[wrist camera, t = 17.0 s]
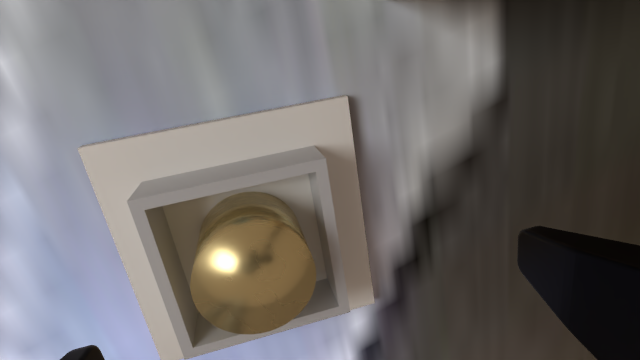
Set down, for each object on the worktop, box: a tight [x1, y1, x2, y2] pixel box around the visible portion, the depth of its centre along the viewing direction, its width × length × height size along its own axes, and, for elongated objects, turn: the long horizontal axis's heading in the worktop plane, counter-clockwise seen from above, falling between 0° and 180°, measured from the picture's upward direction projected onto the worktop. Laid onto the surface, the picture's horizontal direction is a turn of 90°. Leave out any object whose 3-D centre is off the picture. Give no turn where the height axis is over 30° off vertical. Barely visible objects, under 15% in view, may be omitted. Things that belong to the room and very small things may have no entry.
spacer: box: [190, 191, 316, 334], centre depth 17 cm, size 5×5×4 cm
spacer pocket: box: [78, 95, 375, 360], centre depth 18 cm, size 12×12×3 cm
